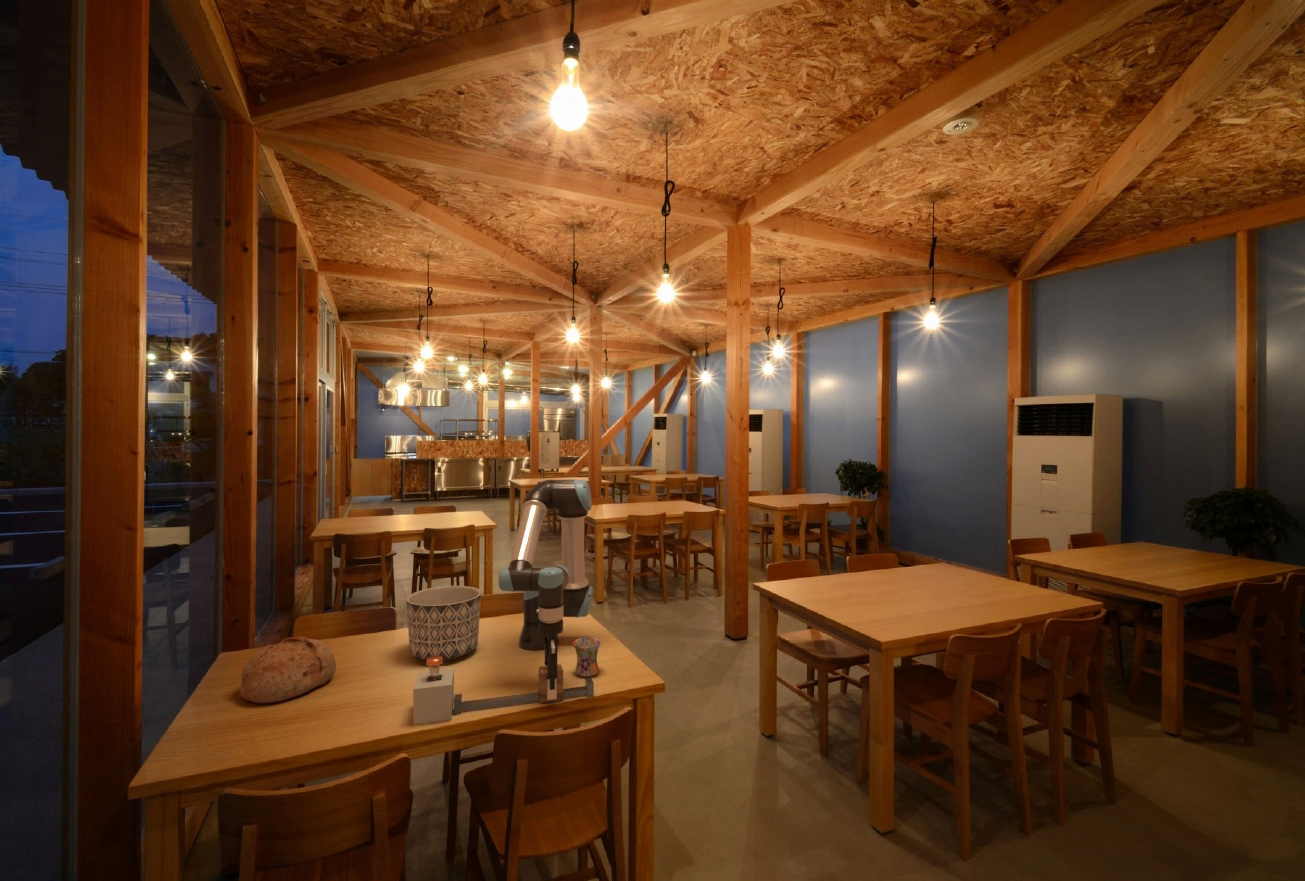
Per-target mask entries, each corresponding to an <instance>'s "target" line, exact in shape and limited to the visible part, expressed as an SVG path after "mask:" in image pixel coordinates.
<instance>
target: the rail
mask: <svg viewBox="0 0 1305 881" xmlns="http://www.w3.org/2000/svg"><path fill="white" fill-rule="evenodd" d="M594 686H595V685H594V681H593V677H588V678H587V677H586V678H585V679H584V686H575V687H568V688H563V700H566V699H567V700H568V699H572V698H573V699H574V698H580V697H581V696H582V697H586V698H590V697H591V698H592V697H594V695H595V694H594V693H595V692H594V691H595V689H594V688H595V687H594ZM535 703H540V693H539V691H537V692H528V693H527V692H526V693H521V694H513V695H505V696H497V697H487V698H480V699H474V700H465V701H463V693H458V694H457V693H455V694H454V704H453V715H459V714H460V715H461V714H462V713H465V712H466V713H467V712H472V711H473V712H474V711H475V712H476V711H481V710H489V709H495V708H496V709H497V708H505V707H512V706H519V705H528V704H535Z"/></svg>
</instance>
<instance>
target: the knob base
mask: <svg viewBox="0 0 1305 881" xmlns="http://www.w3.org/2000/svg"><path fill="white" fill-rule="evenodd" d="M412 696H413V697H412V698H413V699H412V700H413V701H412V702H413V705H412V706H413V711H412V712H413V715H412V716H413V718H412V719H413V722H412V724H413V726H415V725H422V724H423V725H424V724H429V723H436V722H437V723H438V722H445V720H447V721H451V720H452V718H453V713H454V696H455V668H454V667H451V668H441V669H440V668H439V680H438V681H430V670H422V671H418V672H417V675H416V679H415V682H414V686H413V695H412Z"/></svg>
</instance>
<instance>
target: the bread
mask: <svg viewBox="0 0 1305 881" xmlns="http://www.w3.org/2000/svg"><path fill="white" fill-rule="evenodd" d="M336 668H337V662H336V658H335V656H334V654H333V652H332V650H331V649H330V648H329V647H328V645H326V644H325V643H323V641H320V640H319V639H314V638H309V637H306V636H293V637H292V636H289V637H286V638H284V639H282V640H281V641H279V642H278V643H277V644H268V645H266V646H264V647H262V648H261V649H259V650H258V651H257V652H256V653H254V654H253V655H252V657H250V658H249V659H248V661H247V663H246V664H245V665H244V667H243V669H242V672H241V674H240V675H241V680H240V681H241V683H240V686H239V695H240V696H241V697H242V698H243V700H245V701H247V702H253V703H254V704H275V703H279V702H283V701H286V700H290V699H294V698H295V697H298V696H301V695H303V694H305V693H307V692H310V691H311V690H314V689H315V688H317V687H320V686H322V685H325V684H326V683H328V681H330V680H331V679H332V678H333V676H334V675H335V673H336V670H337V669H336Z"/></svg>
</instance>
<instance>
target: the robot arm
mask: <svg viewBox="0 0 1305 881" xmlns="http://www.w3.org/2000/svg"><path fill="white" fill-rule="evenodd" d="M521 503H522V504H521V510H520V511H521V512H522V515H521V519H520V523H519V526H518V530H517V535H516V538H515V542H514V545H513V550H512V554H511V556H510V557H511V558H510V562H509V564H508V565H509V566H506V567H502V568H501V569H500V570H499V574H498V586H499V589H500V590H501V591H502V592H510V593H511V592H512V593H514V592H523V598H522V600H523V626H522V629H521V632H520V635H519V637H518V638H519V639H518V645H519V647H520V648H522V649H524V650H529V651H540V650H541V651H542V650H544V666H548V677H546V680H547V700H553V699H557V677H558V676H557V664H558V651H559V650H558V649H559V647H558V645H559V635H560V634H561V633H563V632H564V619H563V618H577V619H578V618H584V617H588V616H589V614H590V611H591V607H592V606H591V605H592V600H593V592H594V590H593V589H594V587H593V586H592V585H590V584H589V582H590V581H589V580H588V579H587V578H586V573H585V572H586V571H585V570H586V569H585V564H586V563H585V519H586V517H587V516H588V514H589V511H591V510H592V505H593V502H592V493H591V488H590V484H589V483H588V481H586V480H585V479H584V480H583V479H582V480H581V479H576V478H575V479H546V480H542V481H539V483H537V484H535V485H534V486H533V487H532V488H531V489H529V491H528V492H527V493H526V495H525V496H524V498H523V500H522V502H521ZM549 511H556V515H557V517H558V518H559V519H560V520H561V521H560V522H561V524H560V525H561V565H560V564H556V565H554V566H550V567H549V566H548V567H533V566H534V561H535V557H536V554H537V553H536V552H537V548H538V543H539V538H540V533H541V529H542V524H543V520H544V517H546V515H547V514H548V512H549Z"/></svg>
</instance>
